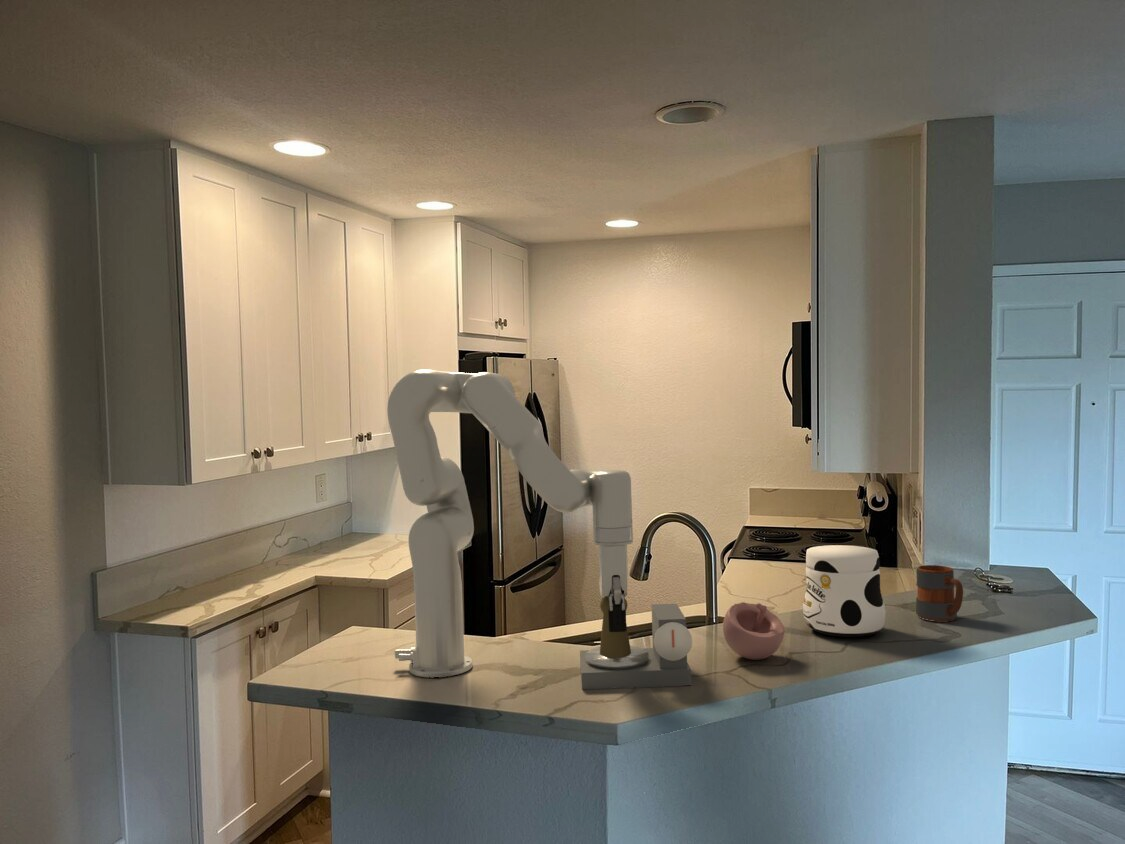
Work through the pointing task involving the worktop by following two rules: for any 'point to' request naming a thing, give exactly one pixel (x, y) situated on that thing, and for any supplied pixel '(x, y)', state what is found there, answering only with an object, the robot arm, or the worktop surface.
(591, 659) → the scale pan
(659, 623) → the scale
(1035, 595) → the worktop surface
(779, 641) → the mortar and pestle
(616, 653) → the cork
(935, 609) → the mug
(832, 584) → the milk container
